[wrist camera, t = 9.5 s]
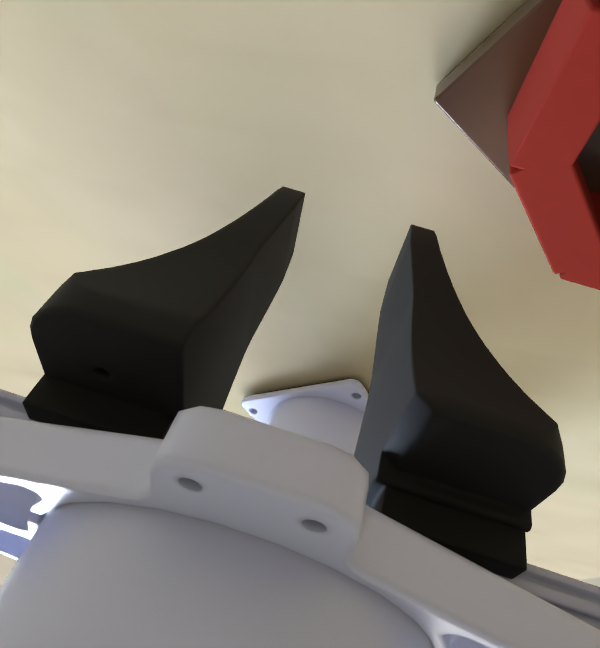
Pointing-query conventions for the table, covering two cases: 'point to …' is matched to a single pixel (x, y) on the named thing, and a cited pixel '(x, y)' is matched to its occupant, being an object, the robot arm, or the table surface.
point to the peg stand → (504, 87)
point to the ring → (560, 142)
